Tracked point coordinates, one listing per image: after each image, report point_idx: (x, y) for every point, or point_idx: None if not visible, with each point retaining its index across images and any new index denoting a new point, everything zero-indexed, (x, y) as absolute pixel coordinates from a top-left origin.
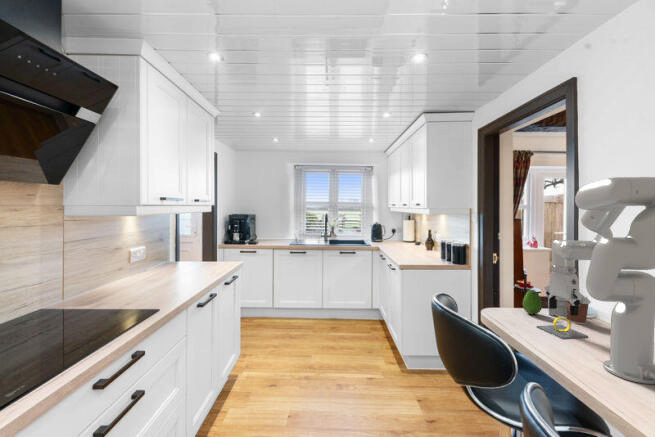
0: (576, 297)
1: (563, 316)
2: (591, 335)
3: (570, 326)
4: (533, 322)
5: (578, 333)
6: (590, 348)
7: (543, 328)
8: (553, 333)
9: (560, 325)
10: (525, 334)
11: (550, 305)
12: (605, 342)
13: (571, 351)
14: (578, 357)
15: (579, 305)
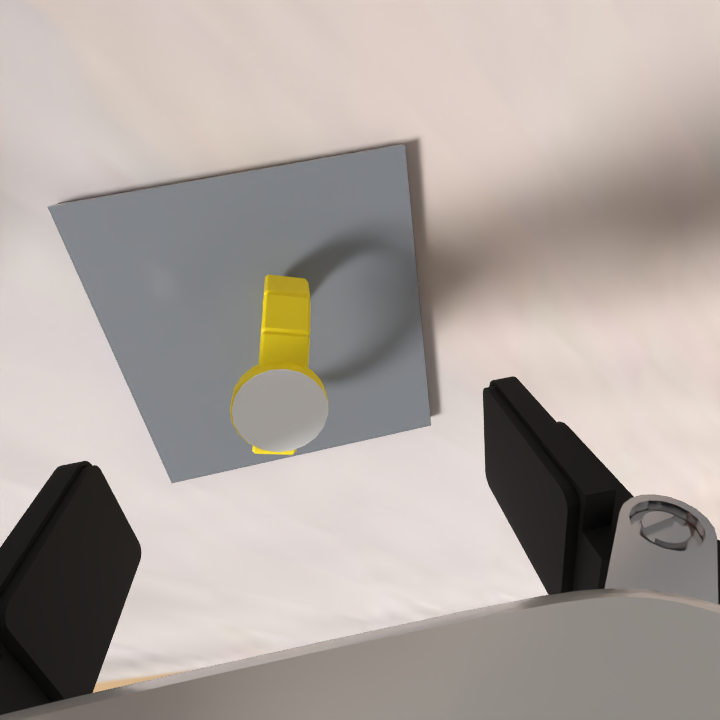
0: (613, 634)
1: (255, 386)
2: (345, 42)
3: (306, 285)
4: (10, 439)
5: (342, 207)
6: (608, 323)
7: (234, 459)
8: (352, 440)
9: (84, 236)
10: (347, 590)
11: (121, 599)
12: (537, 57)
13: (613, 469)
14: (679, 476)
15: (670, 504)
